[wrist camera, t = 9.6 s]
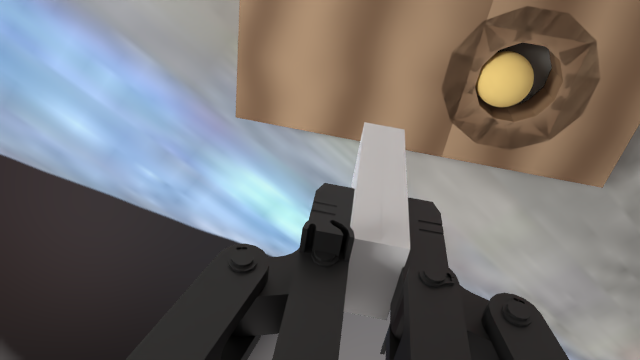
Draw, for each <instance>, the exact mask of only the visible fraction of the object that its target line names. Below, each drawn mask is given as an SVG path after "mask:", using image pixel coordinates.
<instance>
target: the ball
mask: <svg viewBox="0 0 640 360" xmlns="http://www.w3.org/2000/svg"><path fill="white" fill-rule="evenodd" d="M533 81H534V72H533V69H532V66H531V64H530V63H529V61H528V60H527V59H526V58H525V57H524V56H522V55H520V54H518V53H516V52H511V51H502V52H498V53H495V54H494V55H493V56H492V57H491V58H490V59H489V60H488V61H487V62H486V63H485V64H484V65H483V66H482V67H481V70H480V73H479V76H478V79H477V82H476V85H475V87H476V91H477V93H478V95H479V96H480V97H481V99H482V100H483V101H485V102H486V103H488V104H490V105H492V106H496V107H508V106H512V105H515V104H517V103H519V102H520V101H522V100H523V99H524V98H525V97H526V96H527V95H528V93H529V92H530V90H531V88H532V85H533Z"/></svg>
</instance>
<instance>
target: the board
mask: <svg viewBox="0 0 640 360" xmlns="http://www.w3.org/2000/svg"><path fill="white" fill-rule="evenodd" d="M522 42H524V43H529V44H535V45H541V46H545V47H547V48H548V49H549V54H550V60H551V66H552V69H551V71H550V73H549V76H548V78H547V80H546V83H545V85H544V87H543V88H542V89H541V90H540V91H539V92H537V93H536V94H535V95H534V96H533V97H531V98H530V99H529V100H528V101H526V102H523V103H519V104H516V105H512V106H509V107H496V106H492V105H490V104H488V103H486V102H485V101H483V100H482V99H481V97H480V96H479V95H477V94H476V90H475V85H476V82H477V79H478V76H479V73H480V70H481V67H482V66H483V65H484V64H485V63H486V62H487V61H488V60H489V59H490V58H491V57H492V56H493V55H494V54H495V53H496V52H498V51H499V50H501V49H504V48H507V47H510V46H513V45H516V44H519V43H522ZM236 117H237V118H242V119H248V120H253V121H258V122H263V123H268V124H274V125H279V126H284V127H289V128H294V129H300V130H305V131H310V132H315V133H320V134H326V135H331V136H336V137H341V138H346V139H352V140H357V141H361V136H362V131H363V127H364V122H366V123H371V124H377V125H382V126H388V127H393V128H399V129H404V130H405V150H409V151H414V152H419V153H425V154H430V155H435V156H440V157H445V158H451V159H456V160H461V161H466V162H471V163H477V164H482V165H487V166H492V167H497V168H503V169H508V170H513V171H518V172H523V173H529V174H534V175H539V176H544V177H549V178H555V179H560V180H565V181H570V182H575V183H581V184H586V185H591V186H596V187H602V188H603V186H604V184H605V182H606V181H607V179H608V177H609V175H610V174H611V172H612V170H613V169H614V167H615V165H616V163H617V162H618V160H619V158H620V157H621V155H622V153H623V151H624V150H625V148H626V146H627V145H628V143H629V141H630V139H631V138H632V136H633V134H634V132H635V131H636V129H637V127H638V126H639V124H640V0H240V7H239V36H238V65H237V94H236Z"/></svg>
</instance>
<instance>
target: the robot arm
mask: <svg viewBox="0 0 640 360" xmlns="http://www.w3.org/2000/svg"><path fill="white" fill-rule="evenodd" d="M390 311H391V312H390ZM344 312H348V313H353V314H358V315H363V316H368V317H373V318H378V319H383V320H387V318H388V315H389V312H390V315H391V316H390V325H389V328H388V331H387V334H386V337H385V340H384V343H383V346H382V349H381V353H380V354H385V351H386V360H569V359H568V357H567V355H566V354H565V352H564V350H563V349H562V347H561V346H560V344H559V342H558V341H557V339H556V337H555V336H554V334H553V333H552V331H551V329H550V328H549V326H548V324H547V323H546V321H545V320H544V318H543V316H542V315H541V313H540V312H539V311H538V310H537V309H536V307H535V306H534V305H532V304H531V303H530V302H528V301H527V300H526V299H524V298H521V297H519V296H517V295H514V294H508V293H501V294H496V295H495V296H493V297H492V298H491V299H490V301H489V300H487V299H484V298H482V297H480V296H478V295H475V294H473V293H471V292H469V291H468V290H466V289H464V288H463V287H462V286H460V285H459V282H458V279H457V277H456V275H455V274H454V273H453V271H452V270H451V269H450V268H448V261H447V254H446V247H445V240H444V235H443V227H442V220H441V213H440V212H439V210H438V209H437V207H436V206H435V205H434V203H433V202H429V201H424V200H419V199H413V198H408V191H407V170H406V150H405V130H404V129H399V128H393V127H388V126H382V125H377V124H371V123H366V122H364V127H363V131H362V136H361V141H360V146H359V151H358V155H357V160H356V165H355V170H354V175H353V179H352V185H351V188H349V187H343V186H338V185H333V184H327V183H324V184H323V185H322V186H321V187H320V188H319V189H318V190H317V191H316V193H315V197H314V202H313V205H312V210H311V213H310V217H309V221H307V222H306V223H305V225H304V227H303V229H302V236H301V243H300V248H299V249H298V250H297V251H295V252H293V253H292V254H289V255H286V256H280V257H268V256H267V255H266V254H265V252H264V251H263V250H261V249H260V248H258V247H256V246H253V245H249V244H235V245H232V246H229V247H226V248H225V249H224V250H222V251H221V252H220V253H219V254H218V255H217V256H216V257H215V258H214V260H213V261H212V262H211V263H210V264H209V265H208V266H207V268H206V269H205V270H204V271H203V272H202V273H201V274H200V275H199V277H198V278H197V279H196V280H195V281H194V282H193V283H192V285H191V286H190V287H189V288H188V289H187V290H186V291H185V293H184V294H183V295H182V296H181V297H180V298H179V299H178V301H177V302H176V303H175V304H174V305H173V306H172V307H171V309H170V310H169V311H168V312H167V313H166V314H165V315H164V317H163V318H162V319H161V320H160V321H159V322H158V323H157V325H156V326H155V327H154V328H153V329H152V330H151V331H150V332H149V334H148V335H147V336H146V337H145V338H144V339H143V340H142V342H141V343H140V344H139V345H138V346H137V347H136V348H135V350H134V351H133V352H132V353H131V354H130V355H129V356H128V358H127V359H126V360H247V359H248V357H249V356H250V354H251V353H252V351H253V349H254V348H255V346H256V344H257V343H258V341H259V340H260V337H261V335H267V334H277V333H279V335H278V339H277V343H276V347H275V351H274V355H273V359H272V360H338V357H339V348H340V339H341V329H342V321H343V313H344Z"/></svg>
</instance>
